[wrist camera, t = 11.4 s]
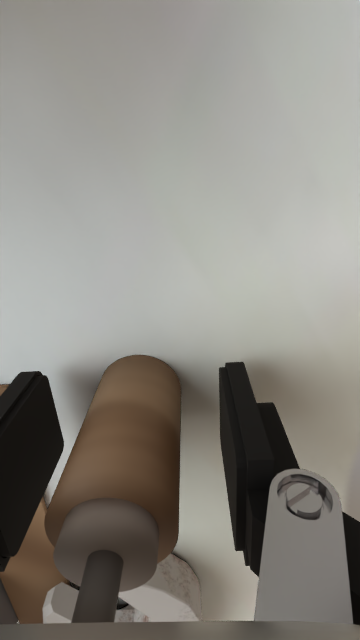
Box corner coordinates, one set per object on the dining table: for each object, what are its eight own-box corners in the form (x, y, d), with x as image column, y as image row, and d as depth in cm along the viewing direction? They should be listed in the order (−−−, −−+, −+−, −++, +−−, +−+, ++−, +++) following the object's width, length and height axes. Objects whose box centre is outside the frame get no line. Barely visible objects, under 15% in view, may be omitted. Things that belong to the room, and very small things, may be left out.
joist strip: (90, 650, 18) (89, 655, 18) (35, 650, 18) (34, 655, 18) (8, 384, 12) (5, 387, 11) (-77, 388, 12) (-81, 391, 12)
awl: (184, 420, 12) (182, 753, 5) (107, 424, 12) (3, 755, 5) (177, 352, 11) (164, 659, 4) (93, 357, 11) (-61, 665, 4)
